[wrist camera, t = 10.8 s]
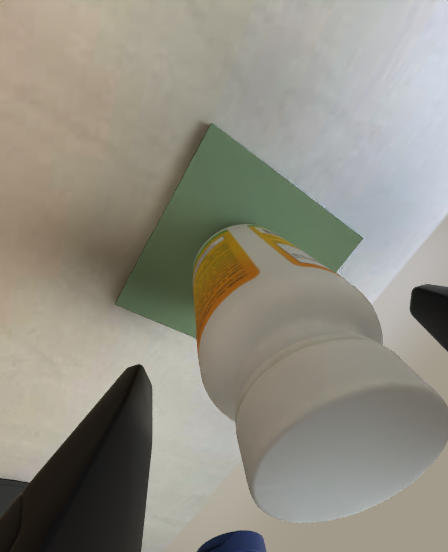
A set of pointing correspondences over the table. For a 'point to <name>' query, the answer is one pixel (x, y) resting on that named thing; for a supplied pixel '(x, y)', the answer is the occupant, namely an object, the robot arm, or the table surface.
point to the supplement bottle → (308, 380)
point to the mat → (221, 214)
